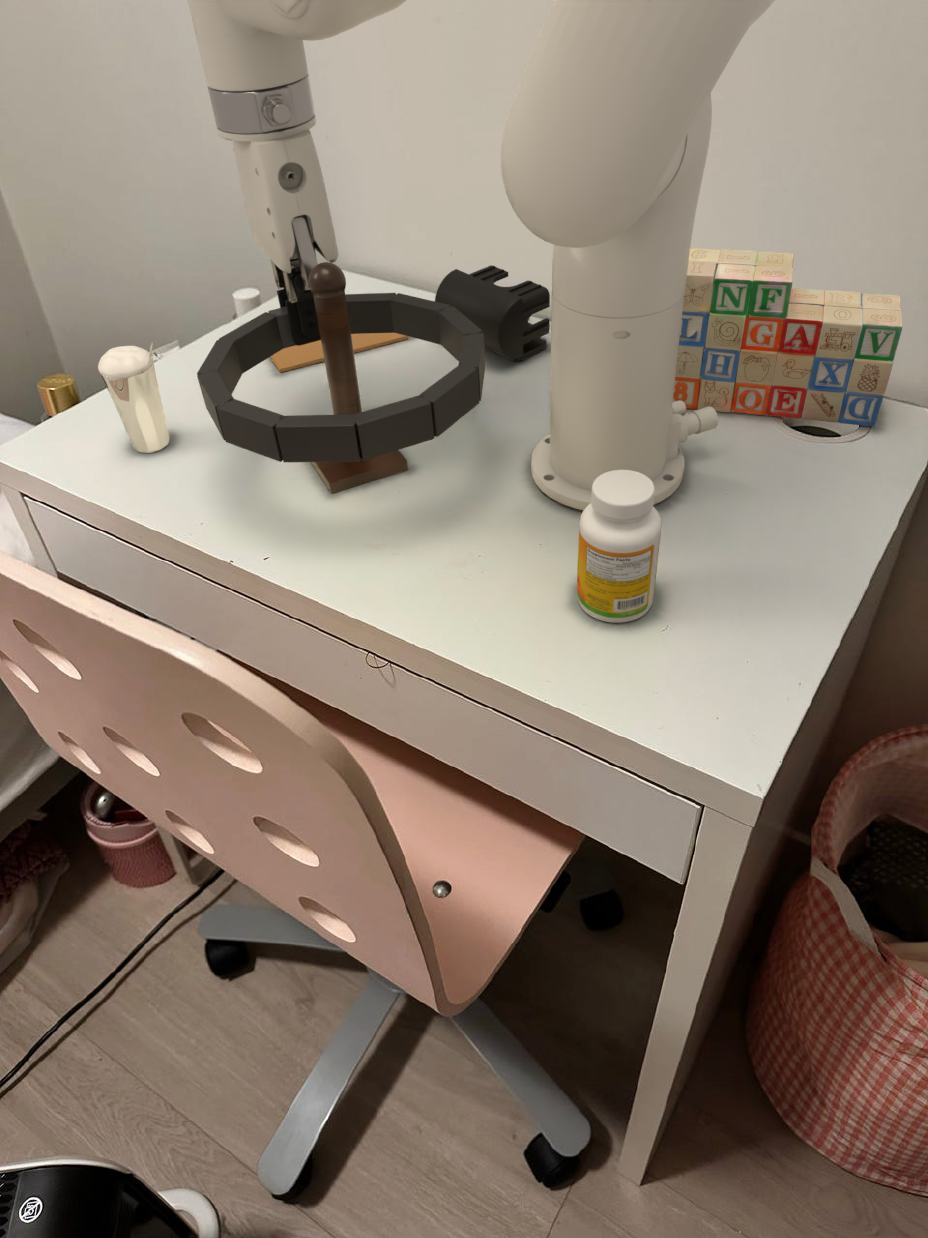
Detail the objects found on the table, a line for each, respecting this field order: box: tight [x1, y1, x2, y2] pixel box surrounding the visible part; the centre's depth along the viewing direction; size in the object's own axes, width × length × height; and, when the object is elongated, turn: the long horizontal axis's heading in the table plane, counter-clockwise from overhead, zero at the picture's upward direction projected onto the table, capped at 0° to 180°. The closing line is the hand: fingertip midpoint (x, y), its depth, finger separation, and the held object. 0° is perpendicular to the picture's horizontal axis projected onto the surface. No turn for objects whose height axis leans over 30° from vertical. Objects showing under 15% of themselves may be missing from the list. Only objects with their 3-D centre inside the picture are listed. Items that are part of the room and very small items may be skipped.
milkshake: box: [97, 341, 171, 454], centre depth 81 cm, size 4×5×10 cm
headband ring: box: [196, 292, 486, 463], centre depth 75 cm, size 22×22×3 cm
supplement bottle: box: [576, 470, 662, 624], centre depth 63 cm, size 5×5×10 cm
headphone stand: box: [308, 261, 409, 494], centre depth 75 cm, size 7×7×17 cm
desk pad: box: [269, 333, 409, 373], centre depth 99 cm, size 14×12×1 cm
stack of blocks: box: [672, 247, 903, 427], centre depth 81 cm, size 21×6×12 cm, turn 73°
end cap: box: [434, 264, 551, 362], centre depth 93 cm, size 10×7×7 cm
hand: (307, 334), depth 82 cm, fingers closed on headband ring, 1 cm apart
